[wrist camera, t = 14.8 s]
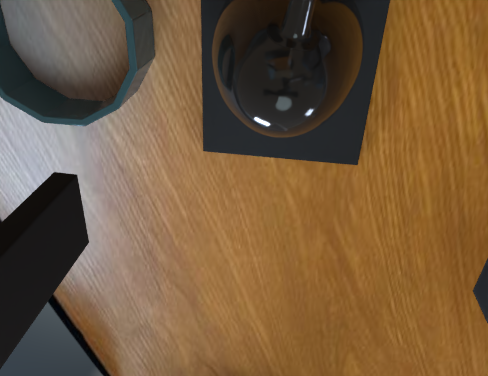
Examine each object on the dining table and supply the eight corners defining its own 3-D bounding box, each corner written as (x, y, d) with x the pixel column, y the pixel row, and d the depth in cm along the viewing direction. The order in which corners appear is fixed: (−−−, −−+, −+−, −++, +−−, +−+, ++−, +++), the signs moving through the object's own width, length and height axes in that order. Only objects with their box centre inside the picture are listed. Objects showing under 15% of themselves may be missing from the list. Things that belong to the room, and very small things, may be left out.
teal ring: (-25, -70, 33) (-69, -70, 29) (146, -62, 32) (124, -61, 28) (17, 100, 40) (-13, 118, 36) (159, 111, 39) (142, 131, 35)
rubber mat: (201, -149, 29) (198, -151, 28) (416, -144, 27) (418, -145, 27) (205, 147, 40) (203, 151, 39) (356, 161, 39) (357, 165, 38)
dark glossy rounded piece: (378, -26, 30) (431, 7, 17) (333, 109, 36) (347, 211, 23) (239, -60, 30) (188, -52, 17) (214, 80, 36) (162, 165, 23)
